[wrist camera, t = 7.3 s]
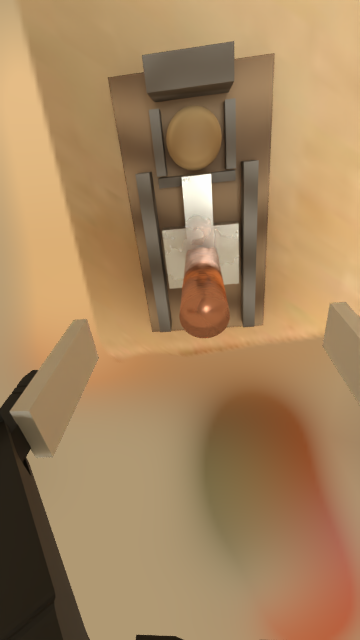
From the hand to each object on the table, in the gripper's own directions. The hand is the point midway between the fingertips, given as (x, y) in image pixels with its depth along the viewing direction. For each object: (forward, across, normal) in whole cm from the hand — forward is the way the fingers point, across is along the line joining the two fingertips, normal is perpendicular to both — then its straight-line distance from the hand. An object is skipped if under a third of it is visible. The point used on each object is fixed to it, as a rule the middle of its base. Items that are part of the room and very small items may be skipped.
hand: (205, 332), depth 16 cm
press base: (+17, 0, +2) cm, 17 cm away
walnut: (+16, 0, +9) cm, 19 cm away
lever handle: (+16, 0, +1) cm, 16 cm away
